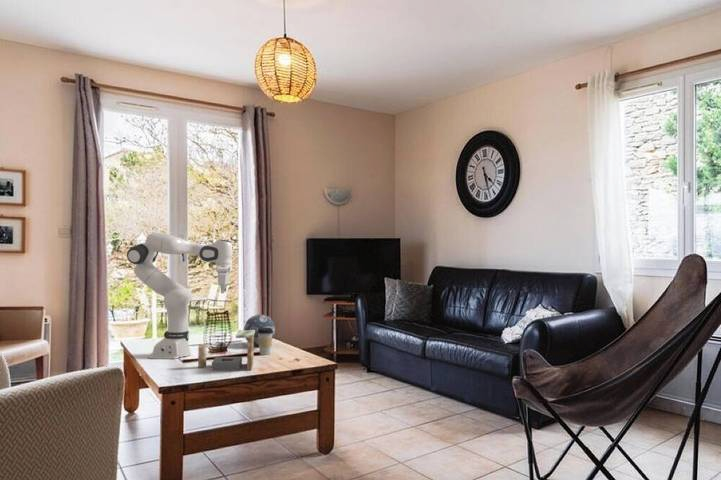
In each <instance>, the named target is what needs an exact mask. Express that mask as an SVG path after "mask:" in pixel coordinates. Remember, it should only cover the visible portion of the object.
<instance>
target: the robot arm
mask: <svg viewBox="0 0 721 480" xmlns="http://www.w3.org/2000/svg"><path fill="white" fill-rule="evenodd" d="M159 253H162V254H166V255H183V254H185V255H186V254H190V255H196V256H199V258H200V259H201V260H202V261H203V262H207V263H212V262H213V263H214V262H215V263H216V266H215V268H216V269H215V270H216V271H215V272H217V283H218V286H219V288H220V293H221V294H225V293H226V292H227V286H228V284H229V283H230V275H231V272H233V260H232V259H233V255H234V253H233V243H232V242H231V241H229V240H227V239H218V240H217V241H215V242H213V243H211V244H207V245H206V244H205V245H203V244H199V243H193V242H191V241H188V240H186V239H183V238H180V237H178V236H175V235H172V234H168V233H167V234H166V233H163V232H162V233H161V232H152V233H149V234H148V235H147V237H146V239H145V242H142V243H138V244H136V245H133V246H131V247H130V248H129V249H128V250H127V252H126V259H127V260H128V262H129V263H130V264H133V265H135V266H134V269H133V272H134V275H135V276H136V277H137V278H138V279H139V280H140V281H141V283H143V284H144V285H146V287H148V288H150V289H151V290H152V291H153V292H154V293H156V294H158V295H160V296H162V297H163V303H164V305H165V308H166V314H167V330H165V331H164V333H163V337H164V338H162V339H161V340H160V341H158V342H157V343H155V345H154V346H153V350H152V352H151V353H149V354H148V358H149V359H156V360H157V359H159V360H160V359H162V360H163V359H165V360H167V359H168V360H176V359H179V357H181V358H184V357H183V356H186V357H189V356H190V355H191V351H190V347H189V345H190V344H189V340H190V332H189V316H188V314H187V313H188V312H187V305H188V304H190V302H191V301H192V299H193V293H192V291H191V290H190V289H189V288H187V287H185V286H184V285H182V284H181V283H179V282H177V281H176V280H173V279H172V278H170V277H169V276H167V274H165V273H163V272H162V271H161V270H160V269H159V268H158V267H156V266H155V265H154V264H153V263H155V262H156V259H157V257H158V255H159ZM188 355H189V356H188Z"/></svg>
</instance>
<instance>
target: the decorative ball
mask: <svg viewBox="0 0 721 480" xmlns="http://www.w3.org/2000/svg"><path fill="white" fill-rule="evenodd" d="M243 326H244V328H243V330H255V333H254V347H259V342H258V333H257V332H258V330H259V329H260V328H272V330H273V333H272V340H273V339H274V337H275V333H276V326H275V323H274V320H272V319H271V317H270V316H268V315H265V314H255V315H252V316H250V317H249V318H248V319H247V320H246V322H245V324H244V325H243ZM245 340H246V341H247V342H248V338H245Z"/></svg>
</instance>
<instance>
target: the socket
mask: <svg viewBox="0 0 721 480" xmlns="http://www.w3.org/2000/svg"><path fill="white" fill-rule="evenodd" d="M242 364H243V357H242V356H225V357H224V356H222V357H221V356H220V357H218V356H217V357H214V359H213V361H212V362H211V371H240V370H241V367H242Z"/></svg>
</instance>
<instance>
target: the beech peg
mask: <svg viewBox="0 0 721 480" xmlns="http://www.w3.org/2000/svg"><path fill="white" fill-rule="evenodd" d="M197 351H198V354H197V356H198V357H197V358H198V360H197V361H198V362H197V368H198V369H206V368H207V343H199V344H198V350H197Z"/></svg>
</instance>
